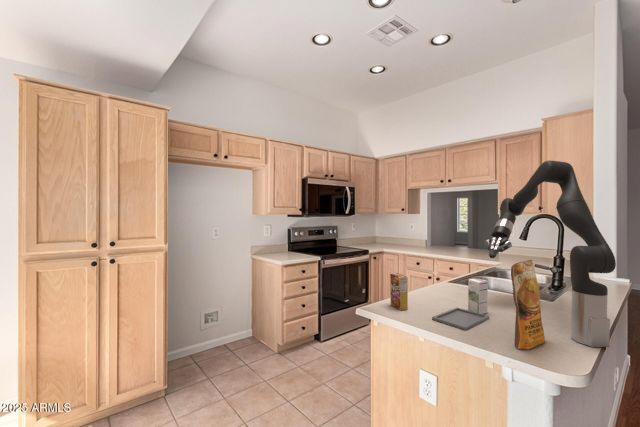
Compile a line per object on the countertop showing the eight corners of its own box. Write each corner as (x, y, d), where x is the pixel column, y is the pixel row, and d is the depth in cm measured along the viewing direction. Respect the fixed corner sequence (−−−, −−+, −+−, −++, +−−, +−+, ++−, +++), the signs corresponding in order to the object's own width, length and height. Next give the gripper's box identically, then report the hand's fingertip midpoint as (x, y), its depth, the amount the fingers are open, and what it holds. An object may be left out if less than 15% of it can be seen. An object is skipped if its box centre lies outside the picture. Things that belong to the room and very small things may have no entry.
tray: (456, 310, 137) (456, 307, 137) (489, 318, 126) (489, 316, 126) (432, 319, 125) (432, 316, 125) (465, 330, 114) (465, 327, 114)
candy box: (389, 304, 145) (389, 273, 144) (397, 303, 146) (397, 272, 146) (399, 310, 136) (399, 277, 136) (408, 309, 137) (408, 276, 137)
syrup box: (488, 313, 133) (488, 280, 133) (478, 314, 131) (478, 281, 131) (477, 309, 138) (477, 277, 138) (467, 310, 136) (467, 278, 136)
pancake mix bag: (502, 345, 102) (502, 262, 101) (530, 333, 111) (531, 258, 111) (523, 353, 96) (524, 266, 95) (551, 340, 106) (552, 260, 105)
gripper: (486, 224, 153) (474, 250, 146) (515, 225, 143) (504, 253, 136) (490, 234, 157) (479, 260, 149) (519, 236, 146) (509, 264, 139)
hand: (491, 257), depth 142 cm, fingers closed
